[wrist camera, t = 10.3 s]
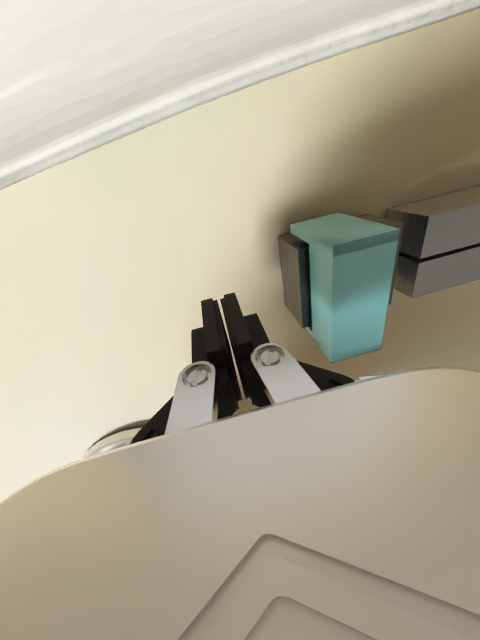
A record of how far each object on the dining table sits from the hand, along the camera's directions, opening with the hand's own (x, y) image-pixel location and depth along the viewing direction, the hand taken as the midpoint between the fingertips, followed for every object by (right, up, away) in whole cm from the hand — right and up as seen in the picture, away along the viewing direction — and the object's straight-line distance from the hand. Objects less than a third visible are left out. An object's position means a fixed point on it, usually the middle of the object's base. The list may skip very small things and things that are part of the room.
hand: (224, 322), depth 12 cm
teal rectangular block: (+6, +3, +4) cm, 8 cm away
